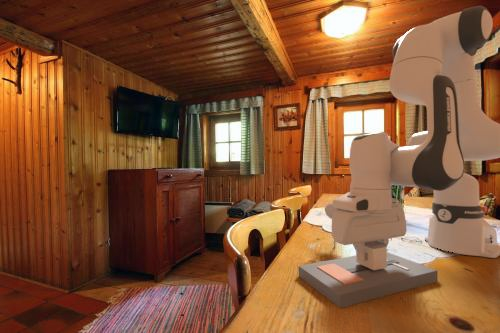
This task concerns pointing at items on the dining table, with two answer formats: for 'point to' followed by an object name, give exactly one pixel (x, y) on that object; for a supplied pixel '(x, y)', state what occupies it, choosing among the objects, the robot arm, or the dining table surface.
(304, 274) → the console board
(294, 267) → the dining table surface
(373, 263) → the fader knob
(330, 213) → the lollipop
